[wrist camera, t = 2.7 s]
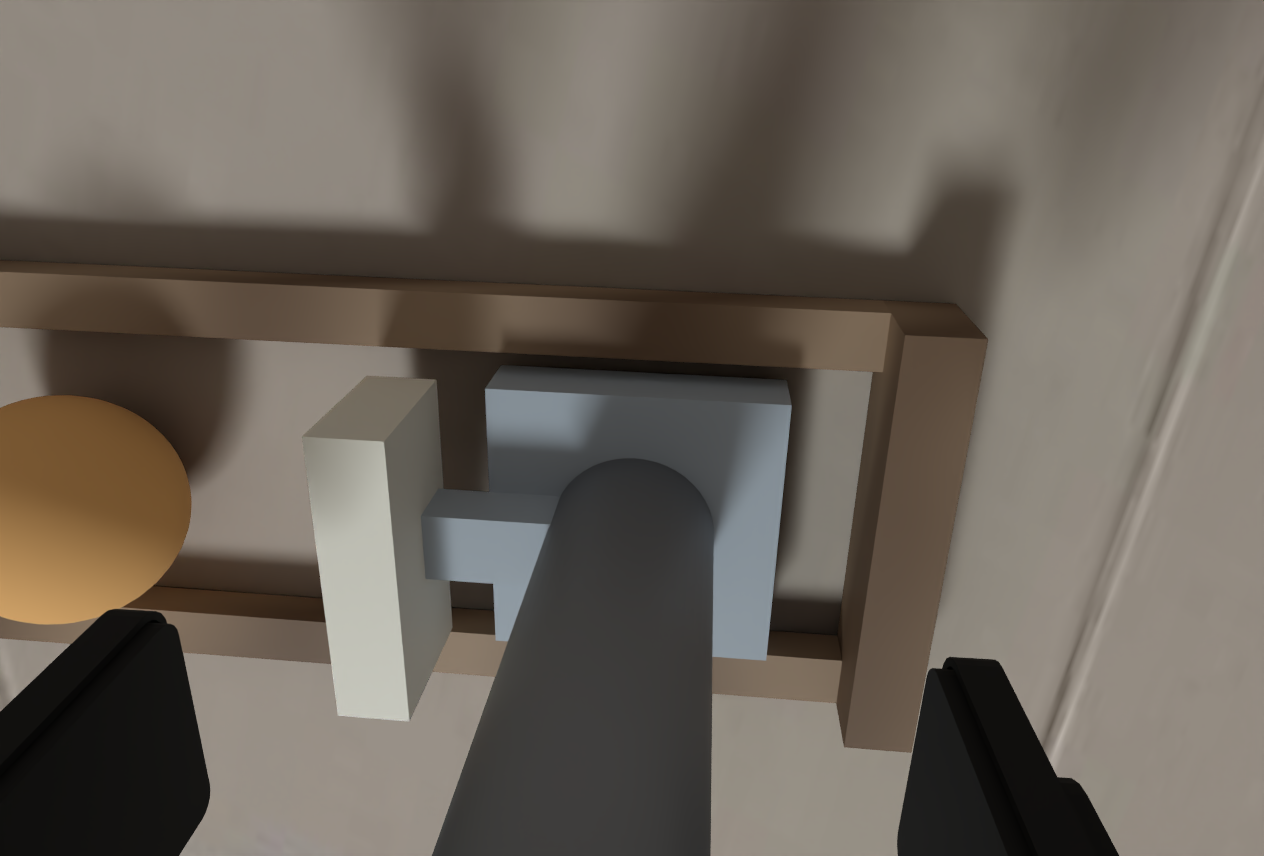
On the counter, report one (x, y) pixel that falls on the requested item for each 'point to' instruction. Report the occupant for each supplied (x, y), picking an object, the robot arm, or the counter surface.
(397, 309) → the track
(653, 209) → the counter surface
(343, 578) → the kicker
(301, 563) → the counter surface
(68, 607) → the ball
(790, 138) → the counter surface
